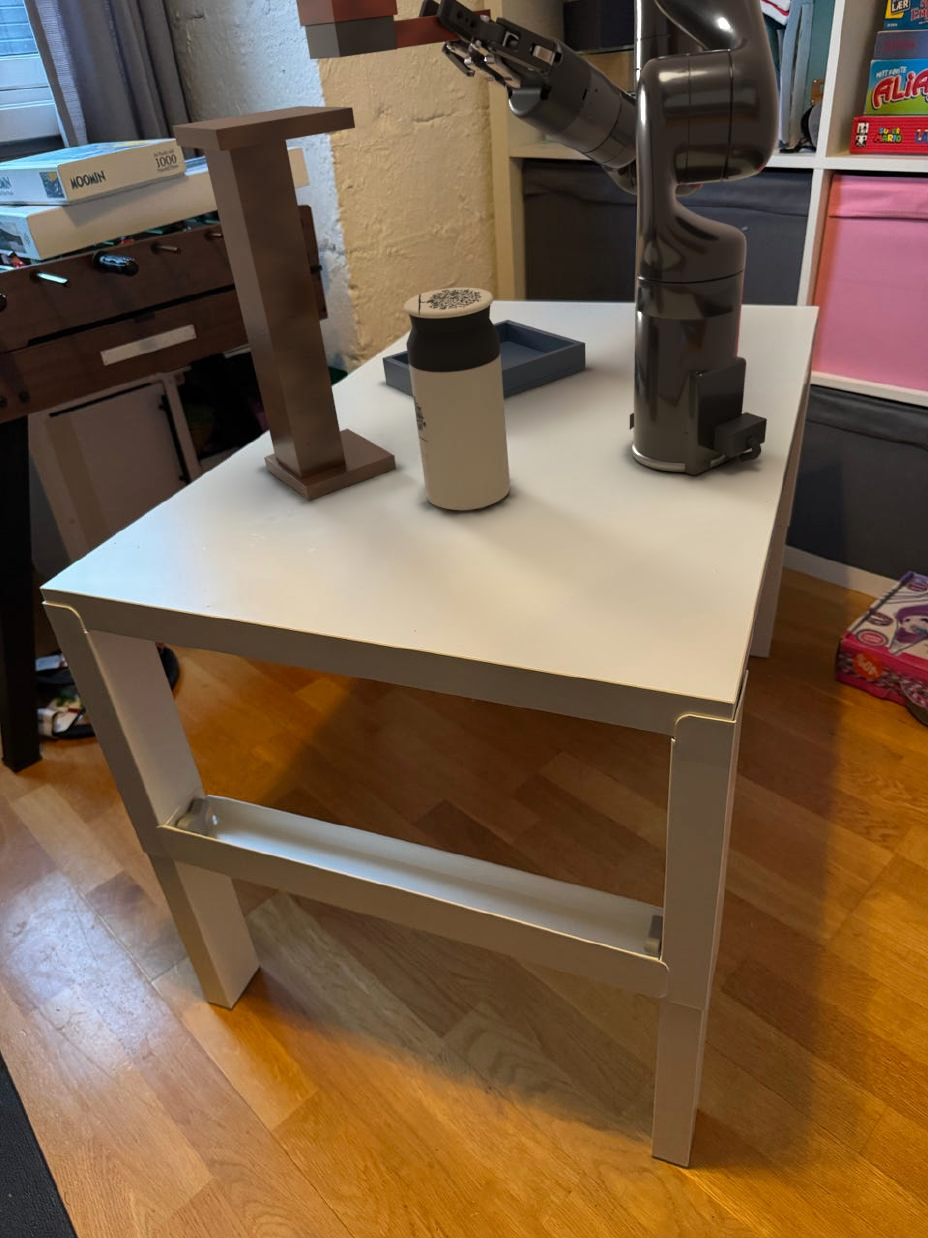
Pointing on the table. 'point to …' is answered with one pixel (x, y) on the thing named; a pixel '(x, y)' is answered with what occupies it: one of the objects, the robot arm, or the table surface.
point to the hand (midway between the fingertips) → (432, 9)
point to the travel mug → (458, 397)
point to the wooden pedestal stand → (282, 293)
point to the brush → (365, 27)
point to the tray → (513, 359)
